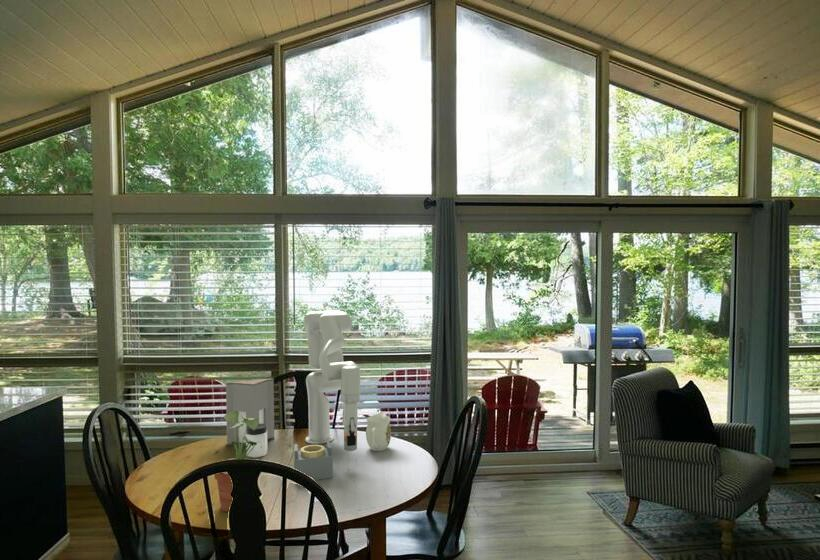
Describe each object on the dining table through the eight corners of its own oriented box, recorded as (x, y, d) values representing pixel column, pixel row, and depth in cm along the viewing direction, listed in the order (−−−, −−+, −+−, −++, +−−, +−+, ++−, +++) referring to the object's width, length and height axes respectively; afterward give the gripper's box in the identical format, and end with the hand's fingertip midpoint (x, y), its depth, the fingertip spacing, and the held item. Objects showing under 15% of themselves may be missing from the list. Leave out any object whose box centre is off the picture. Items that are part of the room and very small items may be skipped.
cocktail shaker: (343, 446, 204) (343, 413, 204) (356, 445, 205) (356, 412, 205) (344, 451, 199) (344, 417, 199) (357, 450, 200) (357, 416, 200)
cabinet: (273, 437, 242) (273, 378, 242) (277, 443, 234) (276, 382, 233) (226, 444, 234) (226, 382, 234) (228, 450, 225) (227, 386, 225)
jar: (271, 452, 222) (271, 424, 222) (258, 458, 214) (257, 430, 214) (256, 449, 226) (255, 422, 226) (242, 455, 218) (241, 427, 218)
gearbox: (294, 471, 199) (293, 443, 199) (330, 468, 202) (330, 440, 202) (294, 481, 189) (294, 451, 189) (332, 477, 193) (332, 448, 193)
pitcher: (360, 455, 216) (359, 423, 216) (371, 442, 234) (371, 412, 234) (385, 457, 214) (385, 424, 214) (395, 443, 232) (394, 412, 232)
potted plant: (263, 511, 165) (262, 402, 165) (213, 518, 161) (211, 406, 161) (263, 492, 180) (261, 392, 180) (216, 498, 176) (215, 396, 176)
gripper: (338, 392, 209) (338, 436, 210) (343, 403, 192) (343, 451, 193) (357, 391, 211) (357, 434, 211) (363, 402, 194) (363, 449, 195)
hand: (350, 442), depth 202 cm, fingers closed on cocktail shaker, 5 cm apart
